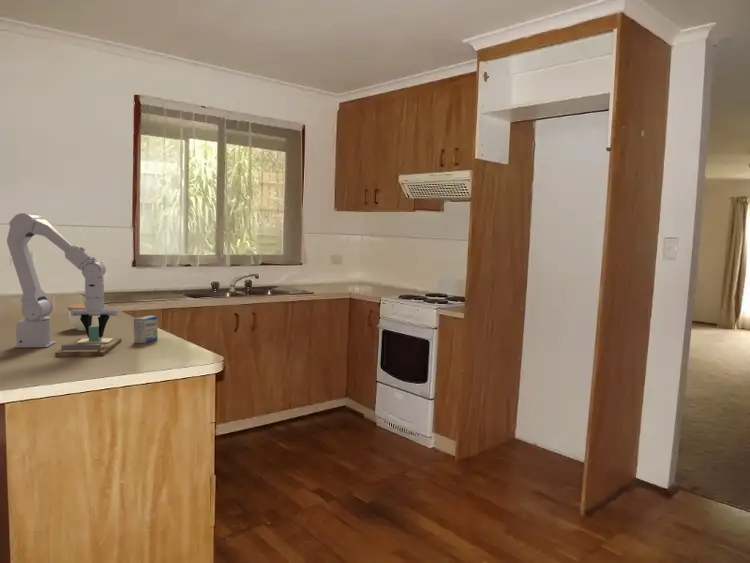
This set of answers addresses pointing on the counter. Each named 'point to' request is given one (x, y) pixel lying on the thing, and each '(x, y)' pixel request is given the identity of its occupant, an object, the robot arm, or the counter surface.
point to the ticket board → (101, 352)
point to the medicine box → (145, 329)
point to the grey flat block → (82, 347)
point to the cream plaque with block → (95, 336)
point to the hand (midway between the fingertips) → (95, 336)
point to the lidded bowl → (76, 319)
